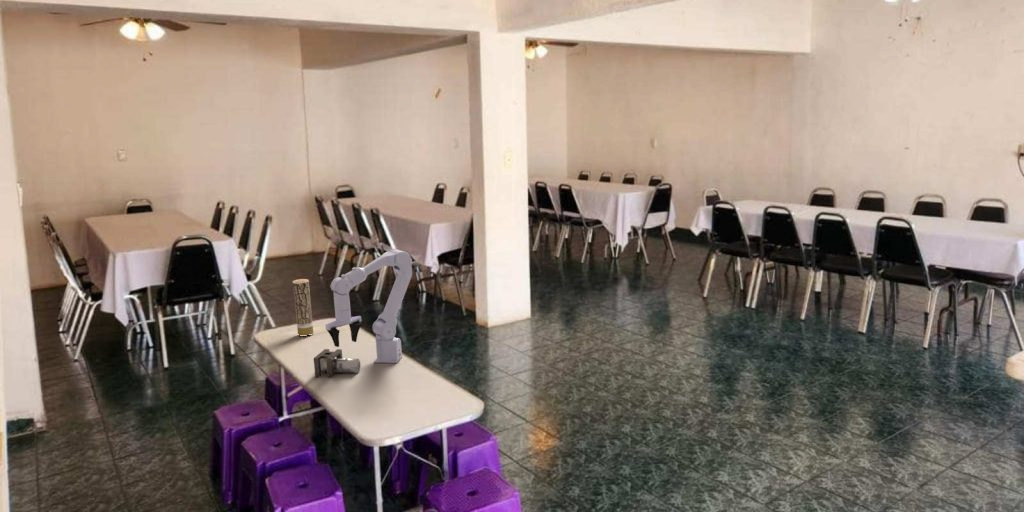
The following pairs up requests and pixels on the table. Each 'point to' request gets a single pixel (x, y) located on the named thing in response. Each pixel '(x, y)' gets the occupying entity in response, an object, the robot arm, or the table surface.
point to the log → (303, 306)
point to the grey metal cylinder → (342, 365)
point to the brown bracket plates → (329, 358)
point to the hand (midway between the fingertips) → (345, 343)
